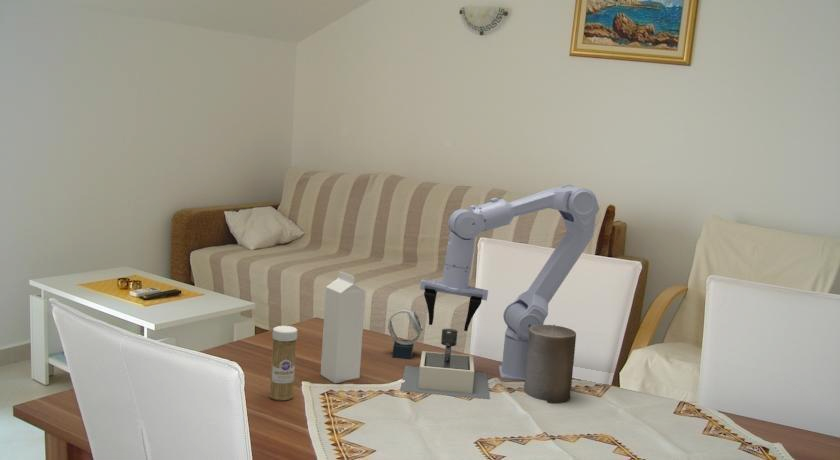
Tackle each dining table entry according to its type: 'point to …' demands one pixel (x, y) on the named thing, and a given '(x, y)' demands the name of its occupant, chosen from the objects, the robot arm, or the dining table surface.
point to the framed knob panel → (446, 376)
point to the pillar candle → (550, 362)
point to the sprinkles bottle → (283, 362)
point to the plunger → (447, 353)
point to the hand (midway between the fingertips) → (448, 326)
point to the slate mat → (412, 386)
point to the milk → (342, 329)
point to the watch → (405, 347)
